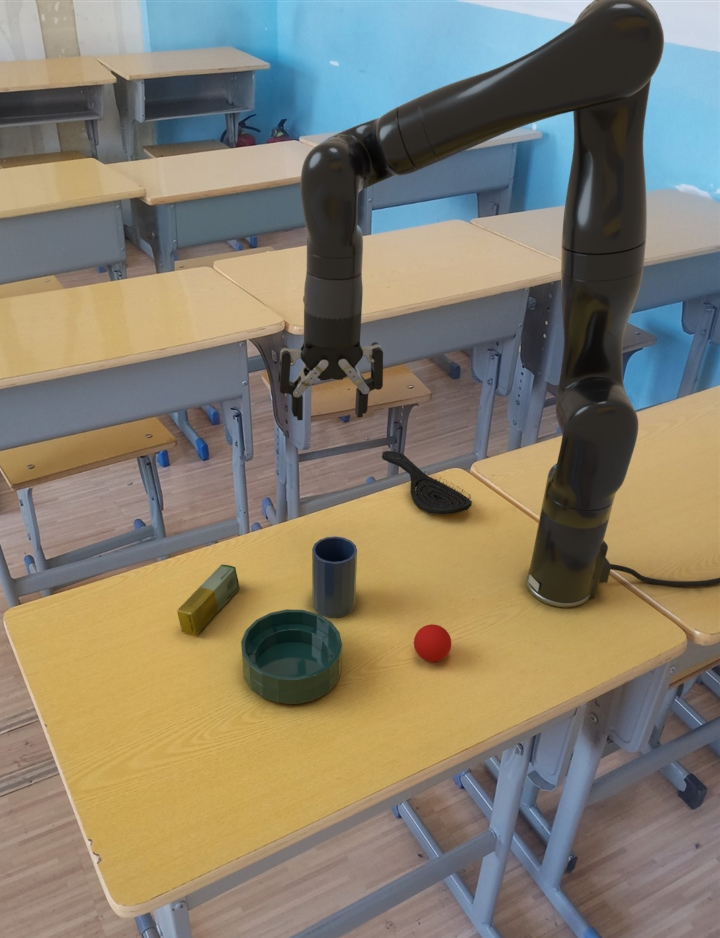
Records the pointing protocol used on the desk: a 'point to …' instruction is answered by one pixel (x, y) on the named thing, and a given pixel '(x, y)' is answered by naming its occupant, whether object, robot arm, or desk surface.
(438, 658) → the ball
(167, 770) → the desk surface
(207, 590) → the medication box
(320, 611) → the pencil cup
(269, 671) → the bowl
